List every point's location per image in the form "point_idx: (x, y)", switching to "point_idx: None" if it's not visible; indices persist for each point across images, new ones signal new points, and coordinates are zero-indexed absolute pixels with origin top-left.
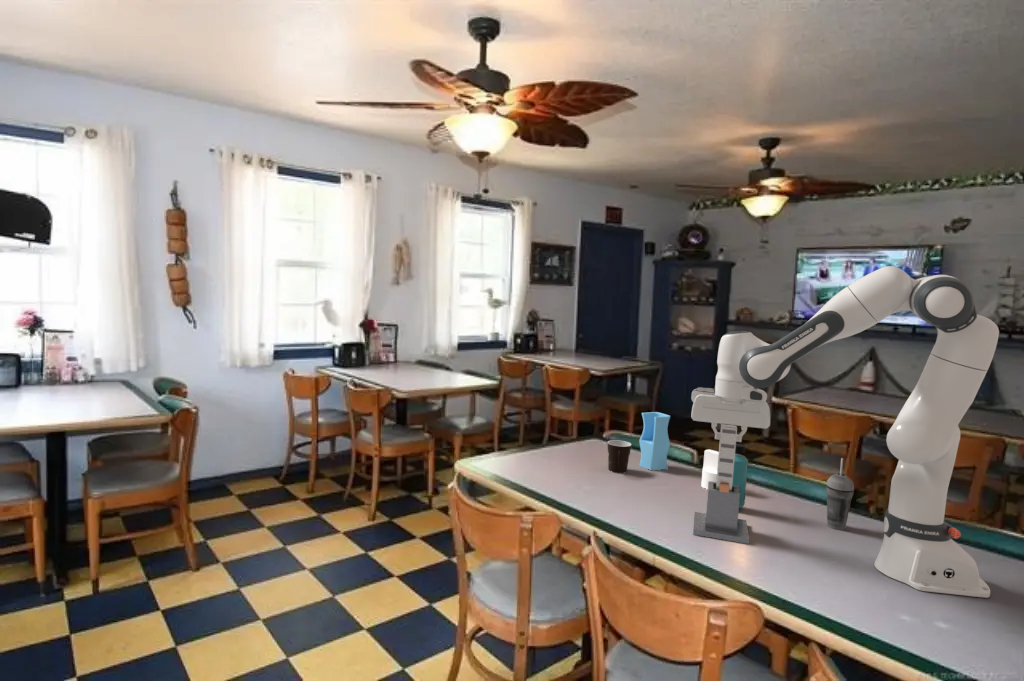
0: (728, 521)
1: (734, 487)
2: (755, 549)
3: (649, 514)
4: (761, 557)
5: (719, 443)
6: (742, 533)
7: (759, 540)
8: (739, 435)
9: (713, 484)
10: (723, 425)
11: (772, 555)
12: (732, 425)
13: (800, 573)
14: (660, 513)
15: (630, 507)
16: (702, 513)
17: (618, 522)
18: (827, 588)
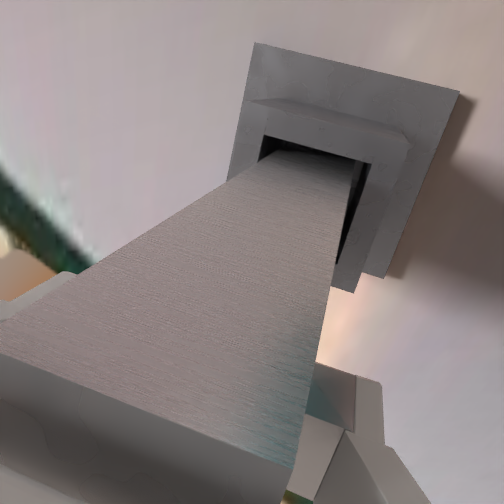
0: None
1: (367, 188)
2: (389, 303)
3: (104, 64)
4: (383, 350)
5: (171, 218)
6: (377, 238)
7: (439, 235)
8: (316, 497)
9: (266, 134)
10: (15, 451)
11: (426, 338)
12: (199, 437)
13: (451, 429)
14: (139, 41)
15: (41, 3)
16: (283, 54)
17: (25, 162)
18: (478, 490)
